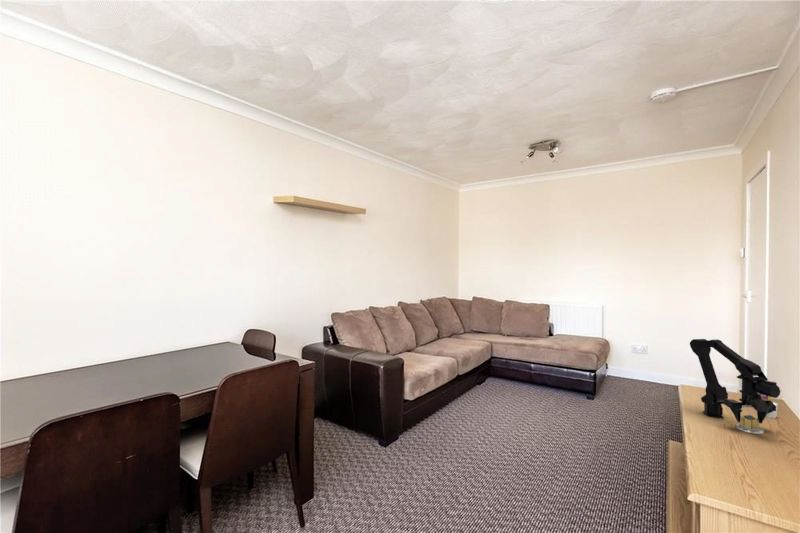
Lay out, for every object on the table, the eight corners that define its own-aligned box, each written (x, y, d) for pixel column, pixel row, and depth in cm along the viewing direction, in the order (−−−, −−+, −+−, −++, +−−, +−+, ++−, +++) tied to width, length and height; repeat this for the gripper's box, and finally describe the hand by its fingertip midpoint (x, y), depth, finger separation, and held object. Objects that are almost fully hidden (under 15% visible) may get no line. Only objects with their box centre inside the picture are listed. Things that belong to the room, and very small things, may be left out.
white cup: (769, 413, 194) (769, 400, 194) (781, 419, 187) (782, 405, 187) (755, 412, 195) (755, 399, 195) (767, 418, 188) (767, 404, 188)
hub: (742, 432, 172) (742, 418, 172) (730, 423, 182) (730, 410, 182) (769, 435, 169) (769, 421, 169) (755, 426, 179) (755, 413, 179)
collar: (747, 428, 173) (747, 420, 173) (736, 422, 179) (736, 414, 179) (762, 429, 172) (762, 421, 172) (751, 423, 178) (751, 415, 178)
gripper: (741, 395, 168) (741, 429, 169) (787, 397, 166) (786, 431, 166) (723, 387, 179) (722, 419, 180) (766, 388, 177) (765, 421, 177)
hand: (749, 422), depth 175 cm, fingers open, 9 cm apart
